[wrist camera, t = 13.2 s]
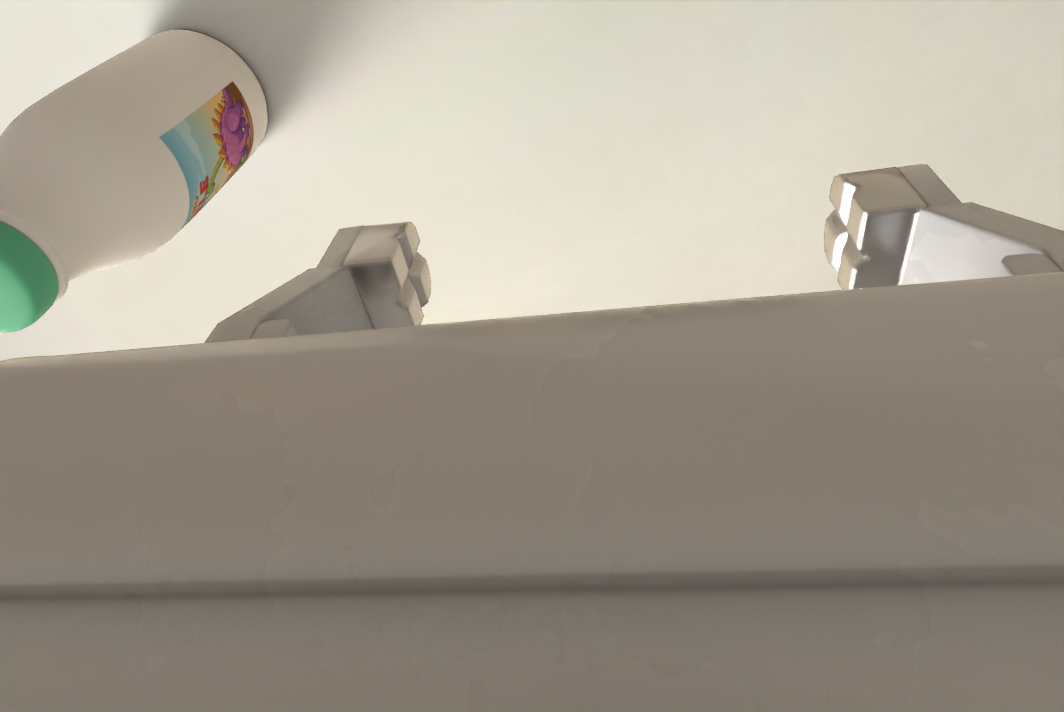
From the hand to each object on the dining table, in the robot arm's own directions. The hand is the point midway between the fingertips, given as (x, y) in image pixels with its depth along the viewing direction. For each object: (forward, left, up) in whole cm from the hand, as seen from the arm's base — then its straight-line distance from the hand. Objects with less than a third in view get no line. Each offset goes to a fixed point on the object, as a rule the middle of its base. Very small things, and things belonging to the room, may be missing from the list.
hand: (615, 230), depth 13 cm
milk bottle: (+23, +3, -27) cm, 36 cm away
